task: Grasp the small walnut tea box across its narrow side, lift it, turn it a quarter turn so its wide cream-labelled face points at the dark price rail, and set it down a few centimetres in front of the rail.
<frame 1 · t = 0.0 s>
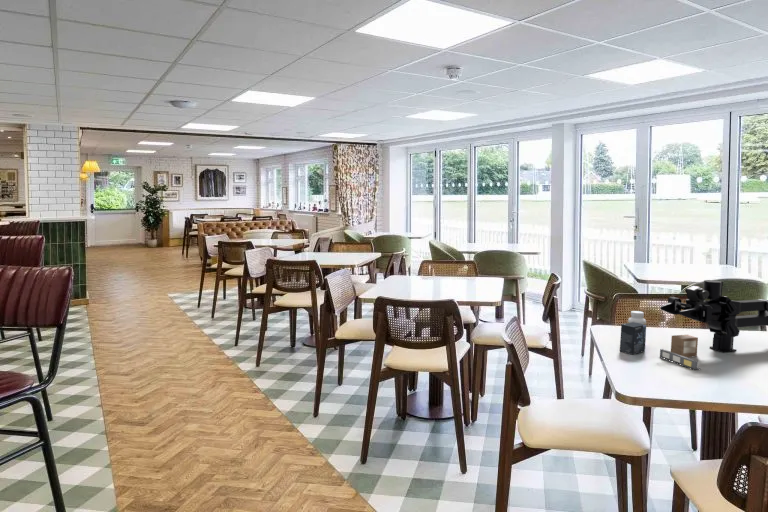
hand: (669, 310, 208), 17 cm above the table, tool horizontal, fingers open, 9 cm apart
supplement bottle: (636, 344, 225), on the table
price rail: (677, 363, 199), on the table
tea box: (683, 355, 209), on the table
box: (632, 352, 214), on the table
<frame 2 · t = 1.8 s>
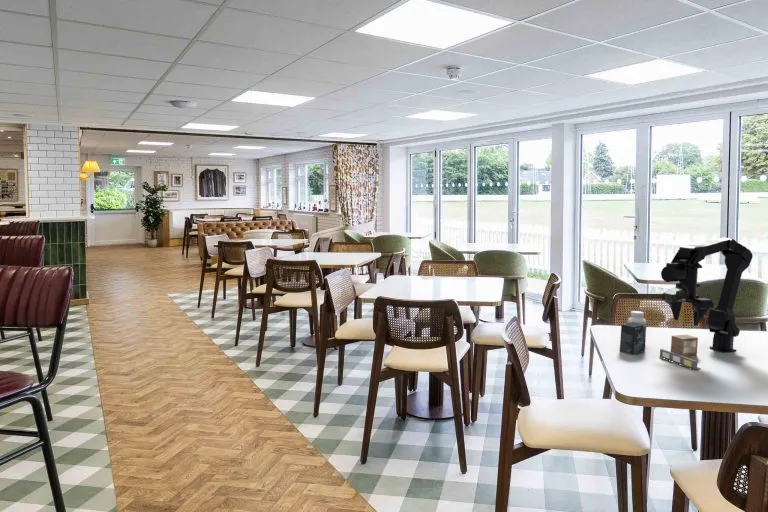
hand: (685, 322, 208), 12 cm above the table, tool pointing down, fingers open, 9 cm apart
nothing on the table moved.
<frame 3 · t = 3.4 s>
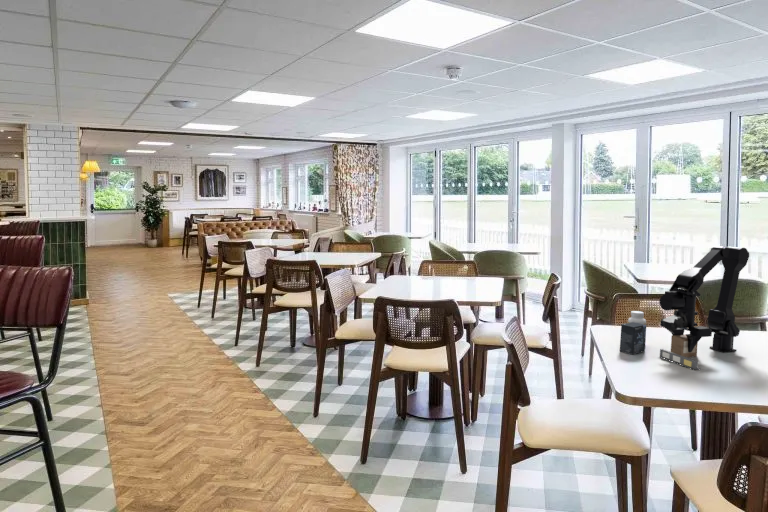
hand: (683, 350, 209), 2 cm above the table, tool pointing down, fingers closed on tea box, 5 cm apart
tea box: (683, 355, 209), on the table, touching gripper
everything else where it was.
when the fingers open (3 cm above the table, at t = 8.6 s): tea box drops 2 cm, on the table.
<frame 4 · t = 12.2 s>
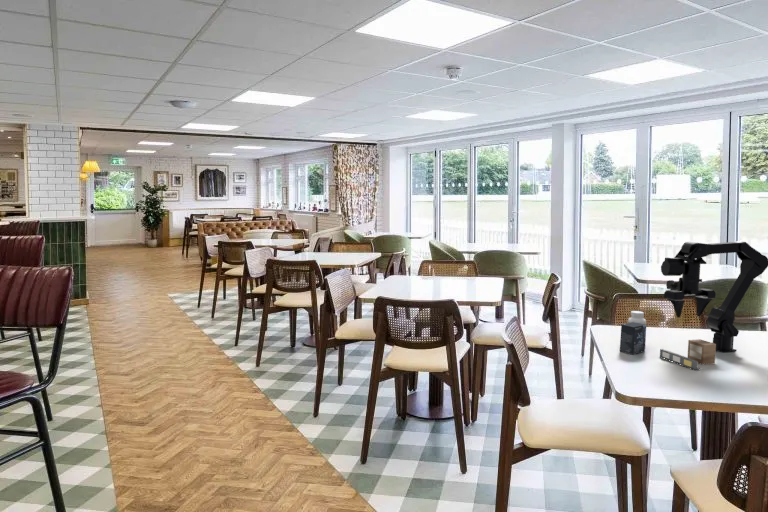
hand: (688, 316, 214), 13 cm above the table, tool pointing down, fingers open, 9 cm apart
tea box: (700, 361, 202), on the table
everything else where it was.
at the end: tea box inside the target area (0.8 cm from its centre), on the table; tea box tilted 0°; tea box moved 7.9 cm from its start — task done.
